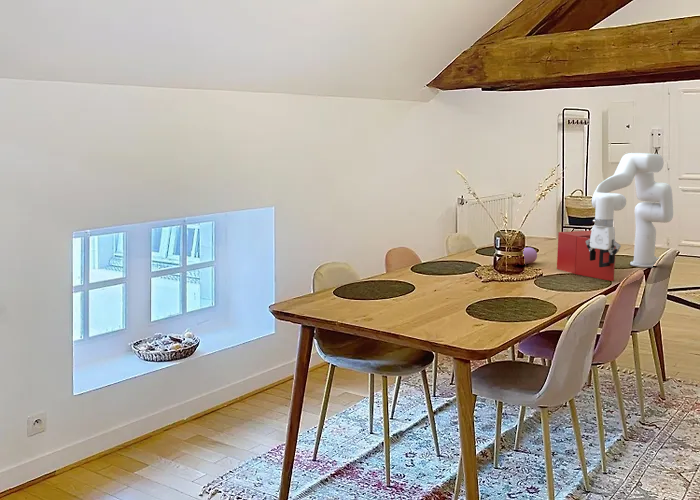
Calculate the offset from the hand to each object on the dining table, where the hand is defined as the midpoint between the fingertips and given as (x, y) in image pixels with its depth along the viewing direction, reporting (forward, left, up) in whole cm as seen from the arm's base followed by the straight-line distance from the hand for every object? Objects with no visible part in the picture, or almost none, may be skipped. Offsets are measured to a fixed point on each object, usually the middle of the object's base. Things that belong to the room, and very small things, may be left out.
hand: (601, 261), depth 312 cm
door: (-1, -9, -9) cm, 13 cm away
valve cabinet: (-11, -27, -9) cm, 31 cm away
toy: (+8, -49, -9) cm, 50 cm away
